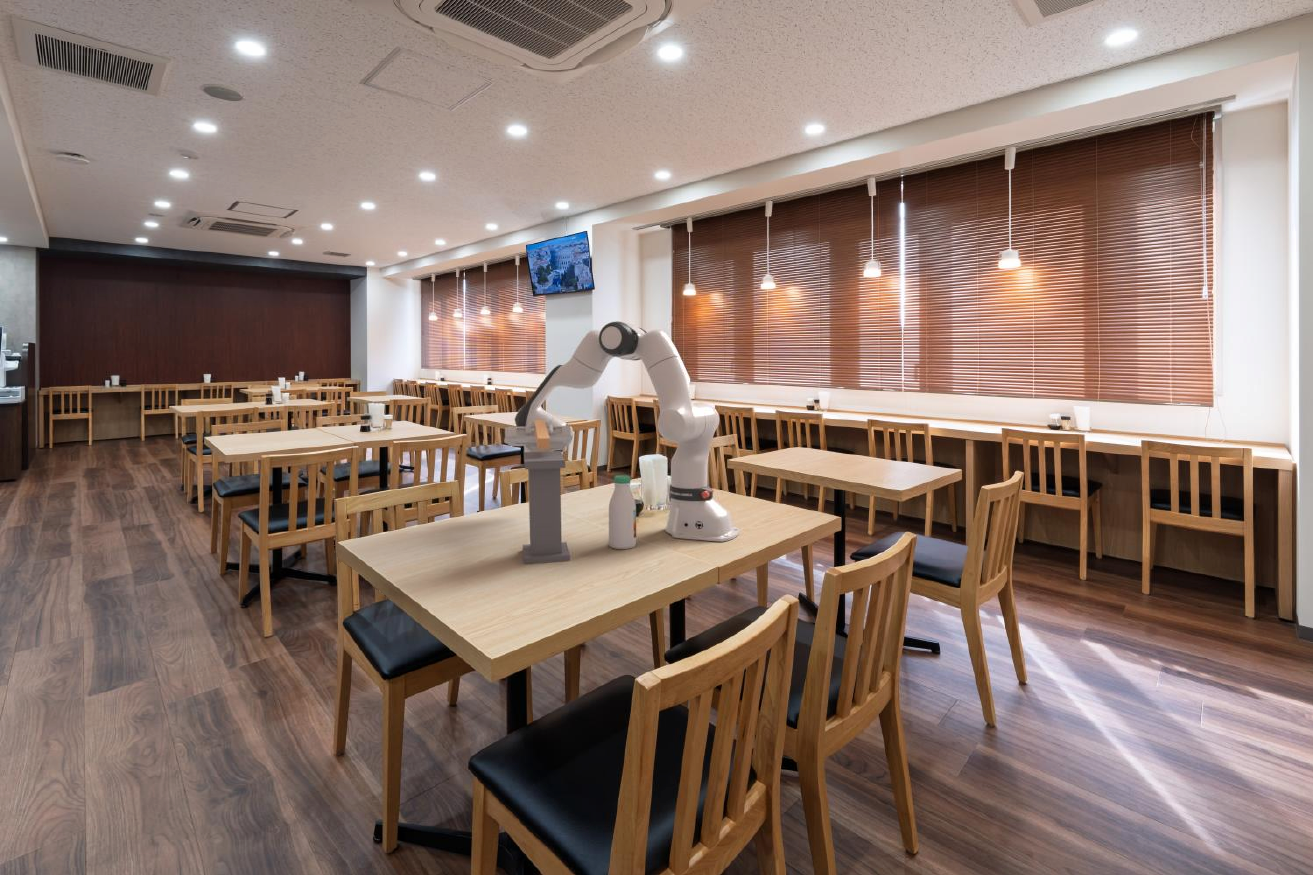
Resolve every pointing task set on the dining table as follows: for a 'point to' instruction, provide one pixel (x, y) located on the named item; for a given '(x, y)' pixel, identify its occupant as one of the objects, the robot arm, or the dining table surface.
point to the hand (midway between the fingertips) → (539, 425)
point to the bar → (542, 435)
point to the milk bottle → (622, 515)
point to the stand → (545, 508)
